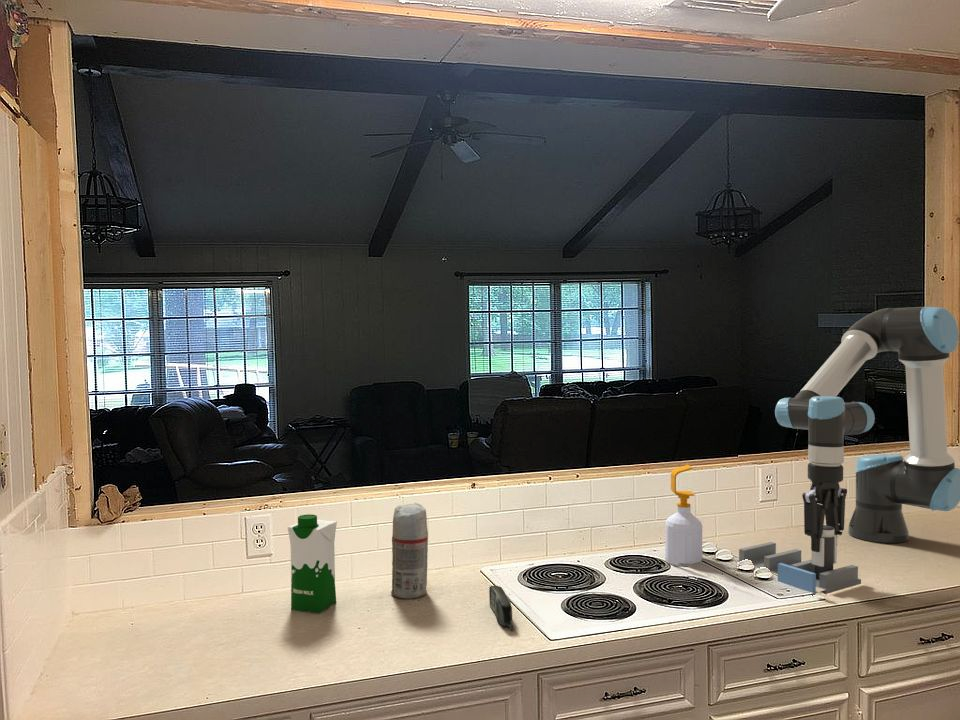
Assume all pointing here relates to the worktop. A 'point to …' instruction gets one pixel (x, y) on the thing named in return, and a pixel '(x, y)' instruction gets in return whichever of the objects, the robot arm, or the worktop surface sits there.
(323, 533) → the milk carton
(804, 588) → the blue rectangular block
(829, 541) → the grey banded cylinder
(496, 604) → the mobile phone
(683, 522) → the soap bottle
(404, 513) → the spray can
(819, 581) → the grey slotted rack
